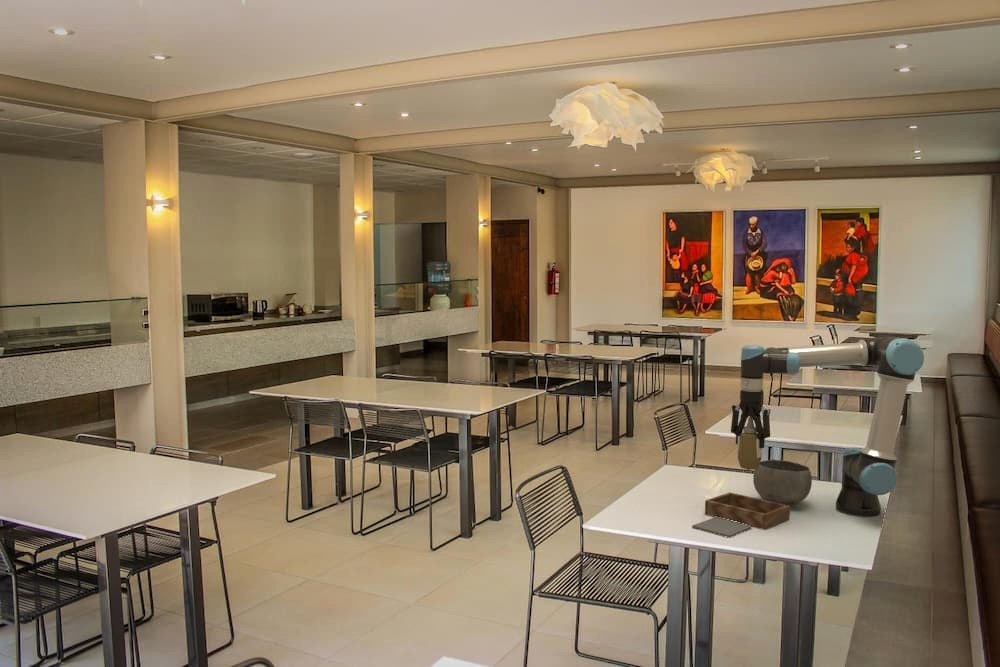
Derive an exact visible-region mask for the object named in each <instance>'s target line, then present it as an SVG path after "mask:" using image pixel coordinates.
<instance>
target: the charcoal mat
mask: <svg viewBox="0 0 1000 667" xmlns="http://www.w3.org/2000/svg"><path fill="white" fill-rule="evenodd" d="M692 527H693V528H692ZM691 528H692V529H695V528H697V529H696V530H698V529H701V530H700V531H702V530H704V531H703V532H706V531H709V532H712V533H711V534H713V533H716V534H715V535H717V534H720V535H723V536H722V537H724V536H727V537H726V538H728V537H730V538H732V537H731V536H733V537H735V536H737V535H736V534H738V535H740V534H742V533H741V532H743V533H745V532H748V531H750V530H752V526H749V525H745V524H741V523H737V522H733V521H729V520H725V519H721V518H717V517H712V518H709V519H705V520H703V521H701V522H698V523H696V524H693V525H691ZM749 529H750V530H749ZM747 530H748V531H747ZM744 531H745V532H744ZM709 532H708V533H709ZM739 533H740V534H739ZM720 535H719V536H720ZM734 535H735V536H734Z"/></svg>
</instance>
